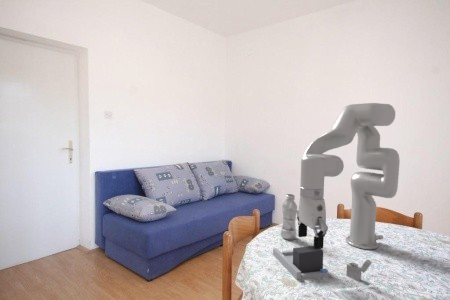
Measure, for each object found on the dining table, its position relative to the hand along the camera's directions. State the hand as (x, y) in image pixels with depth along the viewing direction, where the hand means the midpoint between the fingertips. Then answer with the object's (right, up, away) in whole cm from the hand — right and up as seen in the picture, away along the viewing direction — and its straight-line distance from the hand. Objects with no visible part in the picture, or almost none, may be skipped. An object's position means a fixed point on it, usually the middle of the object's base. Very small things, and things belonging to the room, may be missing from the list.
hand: (310, 242), depth 91 cm
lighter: (+14, -11, -5) cm, 18 cm away
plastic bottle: (-1, -9, +28) cm, 30 cm away
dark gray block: (-1, -9, 0) cm, 9 cm away
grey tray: (-3, -10, +4) cm, 11 cm away
